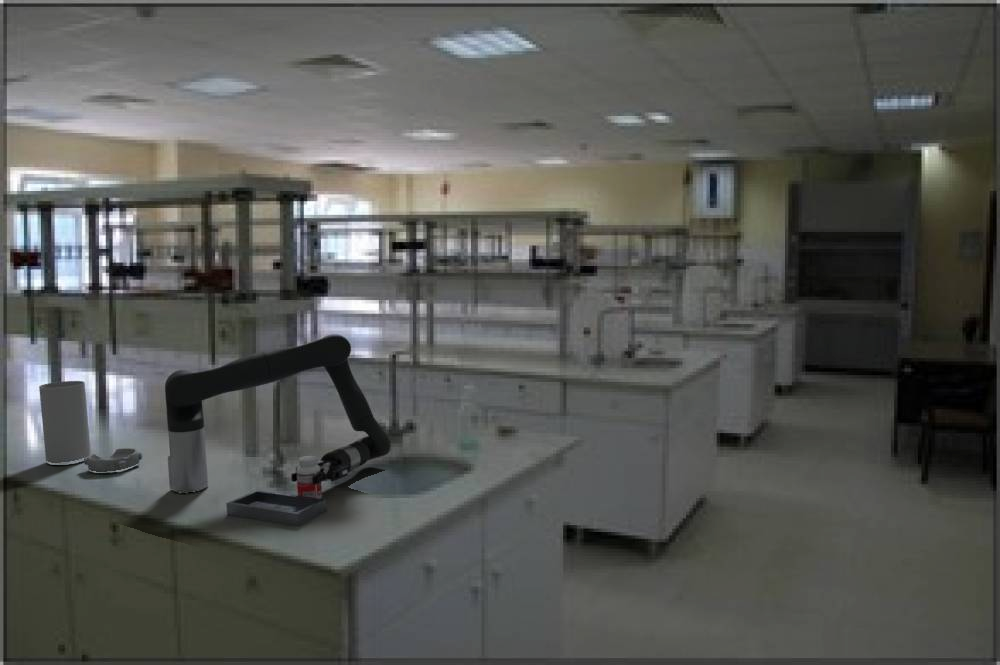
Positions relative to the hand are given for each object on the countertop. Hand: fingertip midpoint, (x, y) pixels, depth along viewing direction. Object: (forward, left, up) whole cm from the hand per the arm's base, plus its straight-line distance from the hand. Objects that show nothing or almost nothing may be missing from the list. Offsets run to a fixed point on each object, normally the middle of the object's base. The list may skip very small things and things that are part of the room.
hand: (303, 479), depth 194 cm
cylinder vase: (-98, +6, -6) cm, 98 cm away
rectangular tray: (-2, -9, -6) cm, 11 cm away
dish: (-76, +5, -7) cm, 76 cm away
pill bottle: (0, +2, -6) cm, 7 cm away
